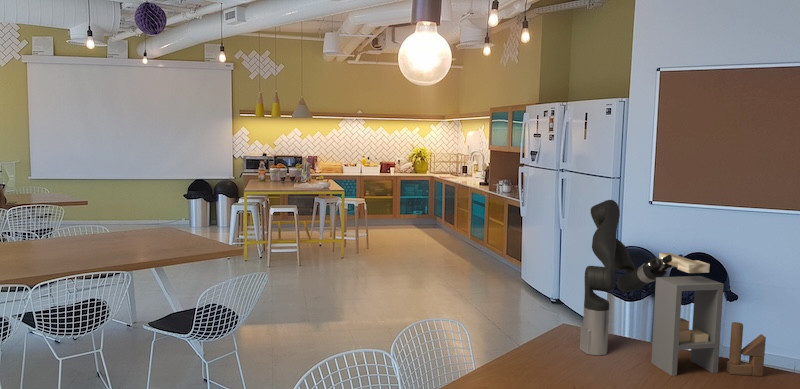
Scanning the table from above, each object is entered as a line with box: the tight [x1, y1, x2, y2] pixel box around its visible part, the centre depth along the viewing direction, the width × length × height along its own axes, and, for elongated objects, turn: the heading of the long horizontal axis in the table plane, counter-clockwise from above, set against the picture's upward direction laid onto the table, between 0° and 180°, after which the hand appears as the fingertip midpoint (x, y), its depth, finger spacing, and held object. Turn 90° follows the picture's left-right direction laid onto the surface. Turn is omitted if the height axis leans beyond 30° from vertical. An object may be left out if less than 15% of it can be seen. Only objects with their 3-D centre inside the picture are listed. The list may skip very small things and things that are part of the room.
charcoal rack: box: [650, 275, 725, 377], centre depth 214 cm, size 18×12×32 cm, turn 100°
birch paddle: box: [658, 252, 711, 274], centre depth 217 cm, size 8×20×3 cm, turn 10°
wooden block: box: [726, 321, 767, 377], centre depth 210 cm, size 4×11×18 cm, turn 82°
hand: (676, 257), depth 219 cm, fingers closed on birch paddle, 4 cm apart
